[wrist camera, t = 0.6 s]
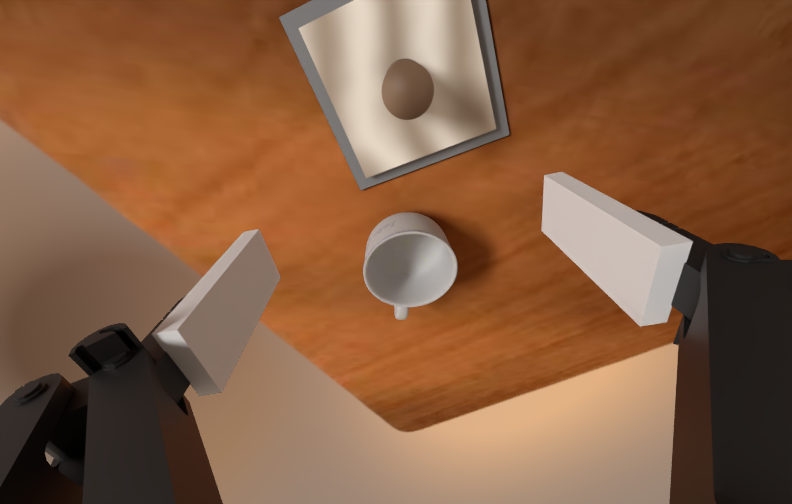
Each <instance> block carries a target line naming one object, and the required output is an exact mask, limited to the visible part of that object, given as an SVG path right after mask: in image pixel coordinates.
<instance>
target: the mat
mask: <svg viewBox="0 0 792 504" xmlns="http://www.w3.org/2000/svg"><path fill="white" fill-rule="evenodd" d="M351 1H353V0H312V1H310V2H308V3H306V4H304V5H302V6H300V7H298V8H296V9H294V10H292V11H290V12H289V13H287V14H285V15H283V16H281V17H279V18H280V21H281V23H282V25H283V27H284V29H285V31H286V33H287V35H288V37H289V40H290V42H291V44H292V46H293V48H294V50H295V52H296V54H297V57H298V59H299V61H300V63H301V65H302V67H303V69H304V71H305V74H306V76H307V78H308V80H309V82H310V84H311V86H312V88H313V90H314V93H315V95H316V97H317V99H318V101H319V103H320V105H321V107H322V110H323V112H324V114H325V116H326V118H327V120H328V122H329V124H330V126H331V129H332V131H333V133H334V135H335V137H336V139H337V141H338V143H339V146H340V148H341V150H342V152H343V154H344V156H345V158H346V160H347V163H348V165H349V167H350V169H351V171H352V173H353V175H354V177H355V179H356V182H357V184H358V186H359V188H360V190H363V189H365V188H368V187H371V186H373V185H376V184H379V183H381V182H384V181H387V180H390V179H392V178H395V177H398V176H400V175H403V174H406V173H408V172H411V171H414V170H416V169H419V168H422V167H424V166H427V165H430V164H432V163H435V162H438V161H441V160H443V159H446V158H449V157H451V156H454V155H457V154H459V153H462V152H465V151H467V150H470V149H473V148H475V147H478V146H481V145H483V144H486V143H489V142H492V141H494V140H497V139H500V138H502V137H505V136H508V135H509V129H508V124H507V118H506V112H505V107H504V101H503V95H502V90H501V84H500V78H499V73H498V67H497V62H496V56H495V50H494V45H493V39H492V33H491V28H490V22H489V16H488V11H487V5H486V0H471V4H472V9H473V14H474V19H475V24H476V29H477V34H478V39H479V44H480V49H481V54H482V59H483V64H484V69H485V75H486V80H487V85H488V90H489V95H490V100H491V105H492V110H493V115H494V120H495V125H496V129H495V130H492V131H489V132H487V133H484V134H482V135H479V136H476V137H474V138H471V139H468V140H466V141H463V142H460V143H458V144H455V145H453V146H450V147H447V148H445V149H442V150H439V151H437V152H434V153H431V154H429V155H426V156H424V157H421V158H418V159H416V160H413V161H410V162H408V163H405V164H402V165H400V166H397V167H395V168H392V169H389V170H387V171H384V172H381V173H379V174H376V175H373V176H371V177H368V178H366V177H365V175H364V173H363V170H362V168H361V166H360V164H359V161H358V159H357V157H356V155H355V153H354V150H353V148H352V146H351V144H350V142H349V139H348V137H347V135H346V133H345V130H344V128H343V126H342V124H341V122H340V119H339V117H338V115H337V113H336V111H335V108H334V106H333V104H332V102H331V99H330V97H329V95H328V93H327V91H326V88H325V86H324V84H323V82H322V80H321V77H320V75H319V73H318V71H317V68H316V66H315V64H314V62H313V60H312V57H311V55H310V53H309V51H308V49H307V46H306V44H305V42H304V40H303V37H302V35H301V33H300V31H299V29H298V28H300V27H302V26H304V25H306V24H308V23H310V22H312V21H314V20H316V19H318V18H320V17H322V16H324V15H326V14H328V13H330V12H332V11H334V10H335V9H337V8H339V7H341V6H343V5H345V4H347V3H349V2H351Z"/></svg>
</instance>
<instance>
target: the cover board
mask: <svg viewBox="0 0 792 504" xmlns="http://www.w3.org/2000/svg"><path fill="white" fill-rule="evenodd" d="M298 29H299V31H300V33H301V35H302V37H303V40H304V42H305V44H306V46H307V49H308V51H309V53H310V55H311V57H312V60H313V62H314V64H315V66H316V68H317V71H318V73H319V75H320V77H321V80H322V82H323V84H324V86H325V88H326V91H327V93H328V95H329V97H330V99H331V102H332V104H333V106H334V108H335V111H336V113H337V115H338V117H339V119H340V122H341V124H342V126H343V128H344V130H345V133H346V135H347V137H348V139H349V142H350V144H351V146H352V148H353V150H354V153H355V155H356V157H357V159H358V161H359V164H360V166H361V168H362V170H363V173H364V175H365V177H366V178H368V177H371V176H373V175H376V174H379V173H381V172H384V171H387V170H389V169H392V168H395V167H397V166H400V165H402V164H405V163H408V162H410V161H413V160H416V159H418V158H421V157H424V156H426V155H429V154H431V153H434V152H437V151H439V150H442V149H445V148H447V147H450V146H453V145H455V144H458V143H460V142H463V141H466V140H468V139H471V138H474V137H476V136H479V135H482V134H484V133H487V132H489V131H492V130H495V129H496V125H495V120H494V115H493V110H492V105H491V100H490V95H489V90H488V85H487V80H486V75H485V69H484V64H483V59H482V54H481V49H480V44H479V39H478V34H477V29H476V24H475V19H474V14H473V9H472V4H471V0H353V1H351V2H349V3H347V4H345V5H343V6H341V7H339V8H337V9H335V10H334V11H332V12H330V13H328V14H326V15H324V16H322V17H320V18H318V19H316V20H314V21H312V22H310V23H308V24H306V25H304V26H302V27H300V28H298Z"/></svg>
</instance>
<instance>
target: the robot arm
mask: <svg viewBox="0 0 792 504" xmlns="http://www.w3.org/2000/svg"><path fill="white" fill-rule="evenodd" d="M542 232H543V233H545V234H546V235H547V236H548V237H549V238H550V239H551V240H552V241H553V242H554V243H555V244H556V245H557V246H558V247H559V248H560V249H561V250H562V251H563V252H564V253H565V254H566V255H567V256H568V257H569V258H570V259H571V260H572V261H573V262H574V263H575V264H576V265H577V266H578V267H580V268H581V269H582V270H583V271H584V272H585V273H586V274H587V275H588V276H589V277H590V278H591V279H592V280H593V281H594V282H595V283H596V284H597V285H598V286H599V287H600V288H601V289H602V290H603V291H604V292H605V293H606V294H607V295H608V296H609V297H610V298H611V299H612V300H613V301H615V302H616V303H617V304H618V305H619V306H620V307H621V308H622V309H623V310H624V311H625V312H626V313H627V314H628V315H629V316H630V317H631V318H632V319H633V320H634V321H635V322H636V323H637V324H638V325H639V326H646V325H653V324H659V323H665V322H667V320H668V317H669V314H670V311H671V308H672V306H673V307H674V308H676V309H677V310H678V311H680V312H681V313H682V314H683V317H682V320H681V323H680V326H679V329H678V331H677V334H676V337H675V340H674V343H673V344H677V345H678V344H679V349H678V366H677V384H676V402H675V419H674V437H673V453H672V454H673V455H672V470H671V488H670V504H792V260H780V259H779V258H778V257H777V256H776V255H775V254H773V253H771V252H769V251H767V250H764V249H761V248H758V247H755V246H750V245H744V244H735V243H722V244H715V245H713V244H711V243H709V242H707V241H705V240H703V239H701V238H699V237H697V236H695V235H693V234H691V233H689V232H687V231H685V230H683V229H682V228H681V229H679V227H678V226H676V225H674V224H672V223H668V221H666V220H664V219H662V218H660V217H658V216H656V215H653V214H649V213H646V212H642V211H635V210H633V209H631V208H629V207H627V206H626V205H624V204H622V203H620V202H618V201H616V200H614V199H612V198H611V197H609V196H607V195H605V194H603V193H601V192H599V191H597V190H595V189H594V188H592V187H590V186H588V185H586V184H584V183H582V182H580V181H579V180H577V179H575V178H573V177H571V176H569V175H567V174H565V173H563V172H558V173H553V174H548V175H544V193H543V212H542ZM280 278H281V277H280V274H279V272H278V270H277V268H276V265H275V263H274V261H273V259H272V256H271V254H270V252H269V250H268V247H267V245H266V243H265V241H264V238H263V236H262V234H261V232H260V230H259V229H256V230H251V231H246V232H243V233H242V234H241V235H240V236H239V238H238V239H237V240H236V241H235V242H234V243H233V244H232V245H231V246H230V248H229V249H228V250H227V251H226V252H225V253H224V254H223V255H222V256H221V258H220V259H219V260H218V261H217V262H216V263H215V264H214V265H213V266H212V268H211V269H210V270H209V271H208V272H207V273H206V274H205V275H204V276H203V278H202V279H201V280H200V281H199V282H198V283H197V284H196V285H195V286H194V288H193V289H192V290H191V291H190V292H189V293H188V294H187V295H186V296H185V297H183V298H182V299H181V300H179V301H178V302H177V303H176V304H175V306H174V307H173V308H172V309H171V310H170V312H168V313H167V314H166V315H165V317H164V318H163V320H161V321H160V322H159V323H158V324H157V325H156V326H155V327H154V329H153V330H152V331H151V332H150V333H149V334H148V335H147V336H146V337H145V338H144V340H143V341H142V342H140V341H139V340H138V339H137V337H136V336H135V335H134V334H133V333H132V331H131V330H130V329H129V328H128V326H127V325H126V324H123V323H118V324H114V325H110V326H107V327H105V328H102V329H100V330H98V331H96V332H94V333H92V334H91V335H89V336H87V337H86V338H84V339H83V340H82V341H80V342H79V343H78V344H77V345H76V346H75V347H74V348H73V349H72V350H71V352H70V353H69V356H70V357H71V358H72V359H73V360H74V361H75V362H76V363H77V364H78V365H79V366H80V367H81V368H82V369H83V370H84V371H85V372H86V373H87V374H88V375H89V377H87V378H84V379H81V380H79V381H76V382H73V383H71V384H70V383H69V382H68V381H67V380H66V379H65V378H64V377H63V376H61V375H60V374H58V373H56V374H49V375H47V376H43V377H41V378H39V379H37V380H34V381H31V382H29V383H27V384H25V386H24V387H23V386H22V387H20V388H19V389H17V390H16V391H15V393H14V394H12V395H11V396H10V397H8V398H7V399H6V400H5V401H4V402H3V404H2V405H1V406H0V504H223V503H222V500H221V497H220V494H219V491H218V488H217V485H216V482H215V479H214V475H213V473H212V469H211V466H210V463H209V460H208V457H207V454H206V451H205V448H204V445H203V442H202V439H201V436H200V433H199V430H198V427H197V424H196V421H195V418H194V415H193V412H192V409H191V406H190V403H189V401H188V400H187V398H186V397H185V396H184V393H185V391H186V389H187V388H188V387H189V385H191V386H192V387H193V388H194V390H195V391H196V392H197V394H199V396H203V395H209V394H216V393H222V391H223V389H224V387H225V385H226V383H227V381H228V379H229V378H230V376H231V374H232V372H233V370H234V368H235V366H236V364H237V362H238V360H239V358H240V356H241V354H242V352H243V350H244V348H245V346H246V344H247V342H248V340H249V338H250V336H251V335H252V332H253V331H254V329H255V327H256V325H257V323H258V321H259V319H260V317H261V315H262V313H263V311H264V309H265V307H266V305H267V303H268V301H269V299H270V297H271V295H272V293H273V291H274V289H275V288H276V286H277V284H278V282H279V280H280ZM45 452H46V453H48V454H49V455H51V456H52V457H53V458H54V460H53V462H52V464H51V465H50V464H49V463H48V462H47V461H46V457H45Z"/></svg>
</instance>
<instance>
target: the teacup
mask: <svg viewBox="0 0 792 504" xmlns="http://www.w3.org/2000/svg"><path fill="white" fill-rule="evenodd" d="M457 269H458V268H457V259H456V256H455V253H454V251H453V250H452V248H451V247H450V244H449V242H448V240H447V238H446V236H445V234H444V232H443V231H442V229H441V228H440V227H439V225H438V224H437V223H436V222H434V221H433V220H432V219H430V218H429V217H427V216H425V215H422V214H418V213H413V212H403V213H397V214H394V215H392V216H389V217H387V218H385V219H384V220H382V221H381V222H380V223H379V224H378V225H377V226H376V227H375V228H374V230H373V231H372V233H371V234H370V237H369V239H368V242H367V246H366V253H365V262H364V267H363V275H364V281H365V283H366V286H367V288H368V289H369V290H370V292H371V293H372V294H373V295H374V296H375V297H376V298H378V299H379V300H381V301H383V302H385V303H388V304H391V305H394V306H395V312H394V313H395V318H396V319H399V320H404V319H406V318H407V316H408V310H409V307H416V306H421V305H425V304H428V303H431V302H433V301H435V300H437V299H438V298H440V297H441V296H442V295H444V294H445V293H446V292H447V291H448V290H449V288H450V287H451V286H452V284H453V283H454V281H455V278H456V275H457Z"/></svg>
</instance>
